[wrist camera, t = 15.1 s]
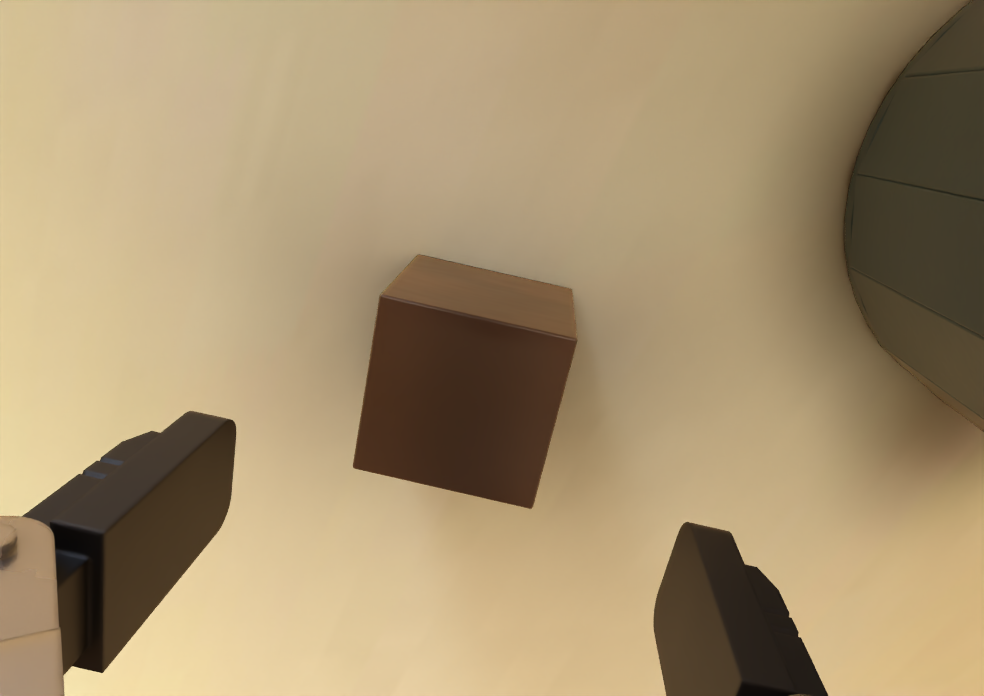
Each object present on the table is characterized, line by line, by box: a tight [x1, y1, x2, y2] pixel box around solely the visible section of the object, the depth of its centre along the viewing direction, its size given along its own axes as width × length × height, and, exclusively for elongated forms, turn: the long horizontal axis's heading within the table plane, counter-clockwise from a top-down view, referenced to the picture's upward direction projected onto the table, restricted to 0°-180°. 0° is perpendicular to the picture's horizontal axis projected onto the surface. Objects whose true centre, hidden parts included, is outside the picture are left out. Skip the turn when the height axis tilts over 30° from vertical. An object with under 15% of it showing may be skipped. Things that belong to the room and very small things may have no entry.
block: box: [353, 255, 577, 509], centre depth 18 cm, size 4×4×4 cm
